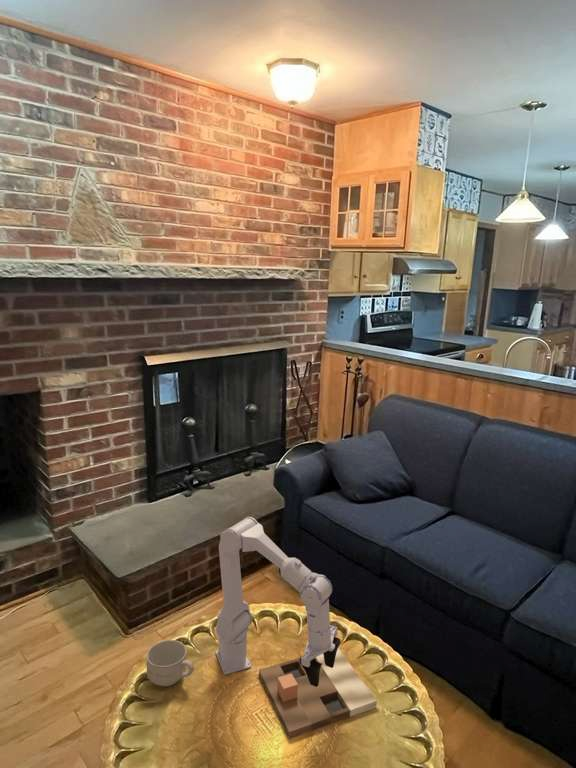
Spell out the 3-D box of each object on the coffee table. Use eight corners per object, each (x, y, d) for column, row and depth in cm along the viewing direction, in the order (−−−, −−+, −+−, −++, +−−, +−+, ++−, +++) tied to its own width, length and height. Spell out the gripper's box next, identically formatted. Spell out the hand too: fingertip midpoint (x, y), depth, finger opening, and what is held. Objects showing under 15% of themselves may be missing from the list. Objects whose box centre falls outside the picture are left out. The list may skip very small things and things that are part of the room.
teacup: (138, 680, 134) (137, 654, 133) (168, 656, 143) (168, 632, 142) (173, 705, 127) (173, 679, 125) (203, 679, 135) (203, 654, 134)
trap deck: (258, 675, 137) (259, 669, 137) (337, 652, 147) (337, 646, 147) (288, 739, 118) (289, 732, 118) (376, 707, 128) (376, 700, 128)
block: (277, 690, 130) (277, 677, 129) (291, 686, 132) (291, 673, 131) (283, 702, 126) (283, 688, 126) (297, 697, 128) (297, 684, 127)
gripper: (317, 647, 115) (320, 700, 116) (346, 615, 126) (349, 663, 128) (292, 638, 119) (296, 689, 121) (323, 607, 131) (326, 654, 132)
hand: (322, 675), depth 125 cm, fingers open, 7 cm apart
